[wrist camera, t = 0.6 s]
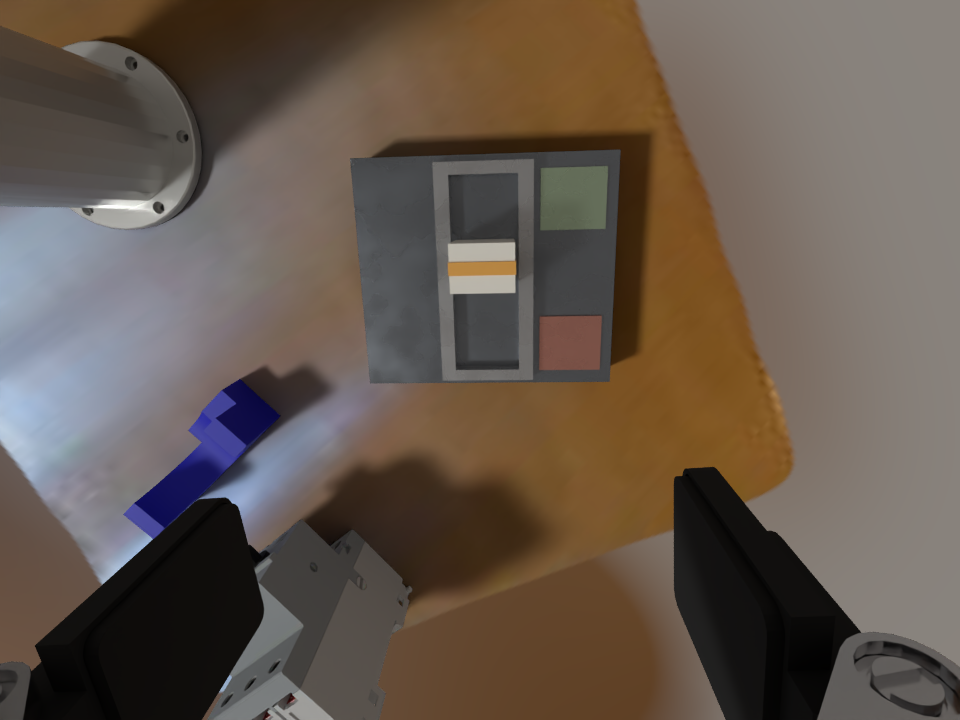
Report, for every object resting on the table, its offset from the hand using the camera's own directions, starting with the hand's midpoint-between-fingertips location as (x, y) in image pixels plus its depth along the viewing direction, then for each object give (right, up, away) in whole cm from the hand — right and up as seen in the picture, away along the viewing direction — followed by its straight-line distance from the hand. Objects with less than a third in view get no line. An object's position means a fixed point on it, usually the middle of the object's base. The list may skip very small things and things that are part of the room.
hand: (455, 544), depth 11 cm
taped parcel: (+1, +11, +25) cm, 27 cm away
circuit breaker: (-13, -14, +36) cm, 41 cm away
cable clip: (-22, -3, +34) cm, 41 cm away
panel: (+1, +11, +28) cm, 30 cm away
